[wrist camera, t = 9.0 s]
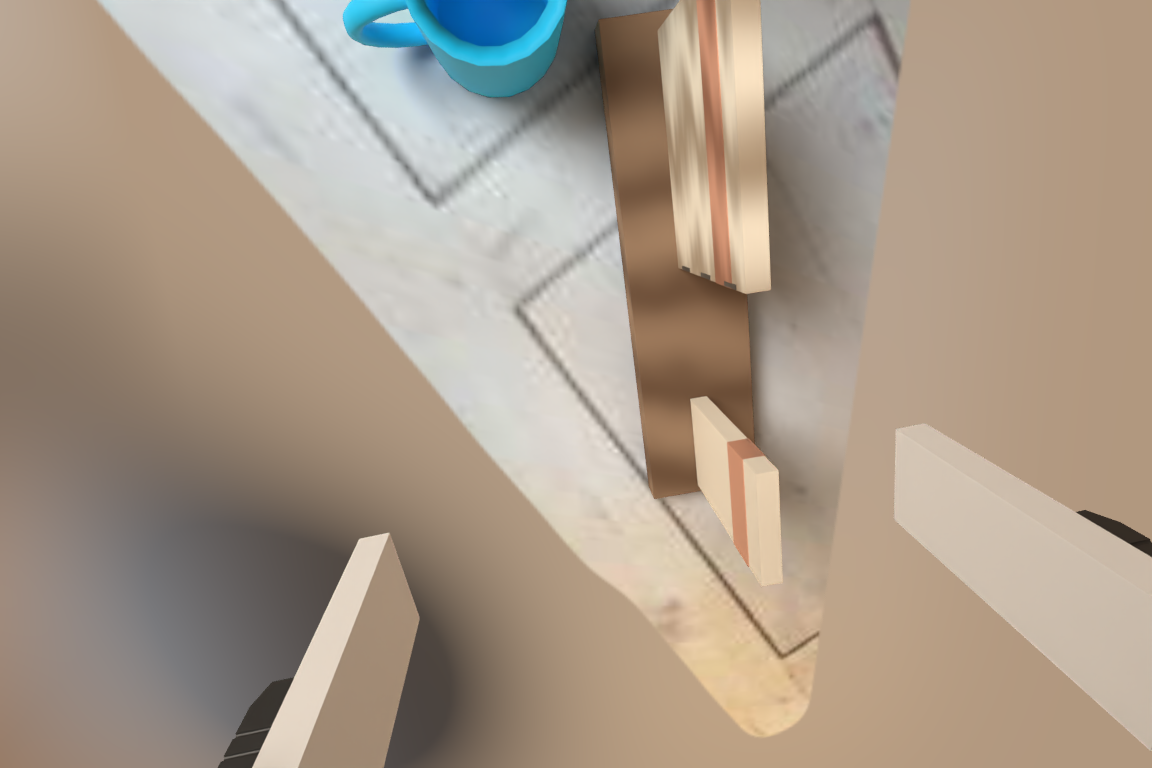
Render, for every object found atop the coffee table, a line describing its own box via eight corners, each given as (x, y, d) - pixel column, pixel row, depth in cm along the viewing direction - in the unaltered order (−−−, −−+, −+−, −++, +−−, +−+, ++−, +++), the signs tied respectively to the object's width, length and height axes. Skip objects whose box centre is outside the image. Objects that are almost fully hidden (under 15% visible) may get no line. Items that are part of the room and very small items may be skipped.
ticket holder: (594, 29, 34) (638, -83, 21) (720, 11, 35) (842, -111, 21) (648, 486, 44) (702, 605, 31) (746, 469, 45) (840, 579, 31)
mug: (545, -68, 33) (551, -154, 25) (572, 84, 35) (585, 49, 28) (344, -29, 33) (287, -104, 25) (386, 121, 35) (346, 97, 27)
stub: (689, 398, 40) (754, 474, 29) (707, 396, 40) (779, 470, 29) (697, 484, 42) (760, 586, 31) (713, 481, 42) (783, 582, 31)
